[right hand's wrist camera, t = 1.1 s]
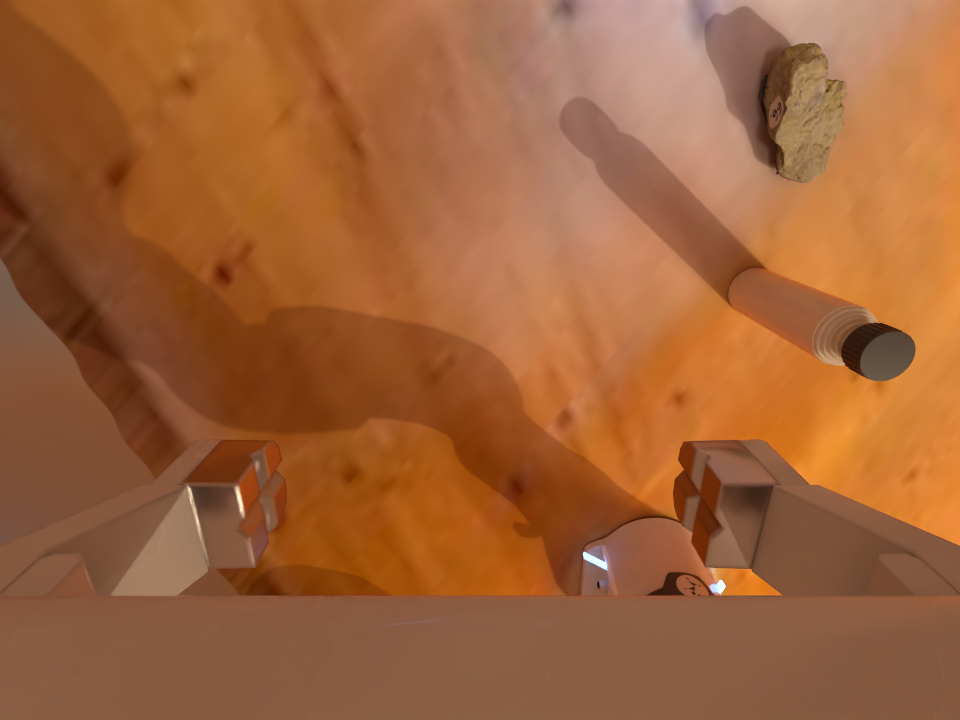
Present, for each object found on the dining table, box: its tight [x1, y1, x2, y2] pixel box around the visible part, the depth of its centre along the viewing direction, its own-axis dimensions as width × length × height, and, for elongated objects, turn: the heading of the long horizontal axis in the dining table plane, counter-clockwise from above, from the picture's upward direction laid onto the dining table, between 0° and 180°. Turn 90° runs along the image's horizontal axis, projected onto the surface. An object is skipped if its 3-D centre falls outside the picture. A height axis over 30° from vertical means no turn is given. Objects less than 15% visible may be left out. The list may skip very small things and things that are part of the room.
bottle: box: [728, 268, 878, 365], centre depth 48 cm, size 5×5×20 cm
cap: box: [841, 322, 915, 381], centre depth 40 cm, size 4×4×2 cm
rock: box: [759, 43, 847, 183], centre depth 49 cm, size 11×6×10 cm
